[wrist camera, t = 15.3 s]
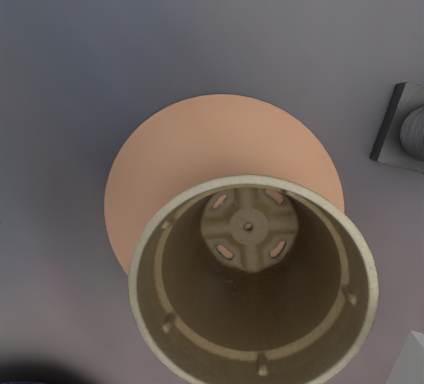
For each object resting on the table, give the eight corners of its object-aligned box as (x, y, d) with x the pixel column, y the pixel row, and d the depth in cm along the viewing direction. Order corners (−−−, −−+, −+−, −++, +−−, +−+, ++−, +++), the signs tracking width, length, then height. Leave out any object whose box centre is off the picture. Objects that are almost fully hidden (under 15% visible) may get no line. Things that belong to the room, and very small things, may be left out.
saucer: (131, 68, 21) (126, 66, 20) (375, 129, 20) (381, 130, 19) (94, 283, 24) (88, 290, 23) (298, 339, 24) (301, 349, 23)
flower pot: (159, 269, 23) (107, 364, 14) (192, 130, 20) (154, 144, 12) (297, 308, 22) (328, 429, 14) (347, 171, 20) (420, 217, 11)
